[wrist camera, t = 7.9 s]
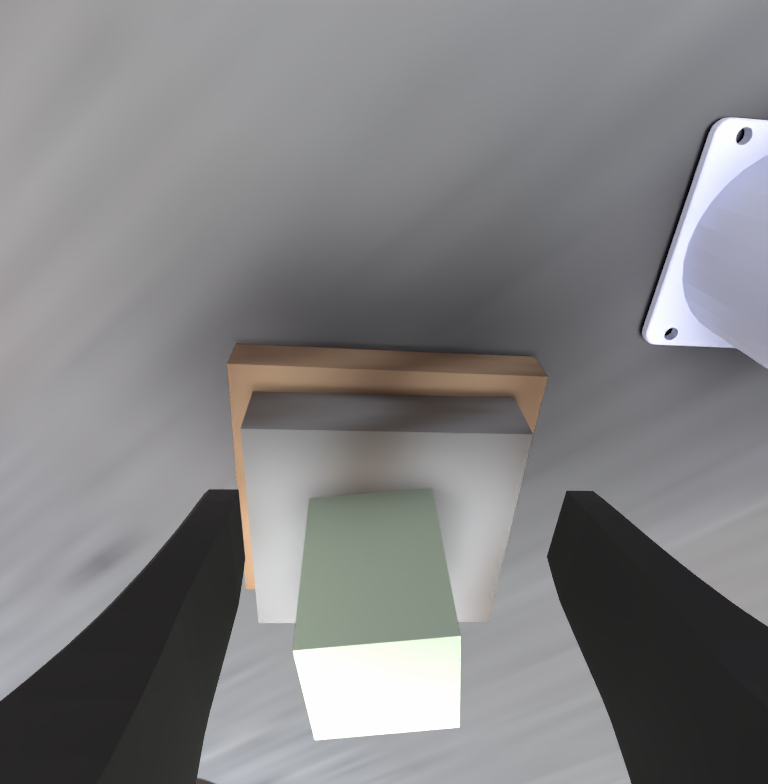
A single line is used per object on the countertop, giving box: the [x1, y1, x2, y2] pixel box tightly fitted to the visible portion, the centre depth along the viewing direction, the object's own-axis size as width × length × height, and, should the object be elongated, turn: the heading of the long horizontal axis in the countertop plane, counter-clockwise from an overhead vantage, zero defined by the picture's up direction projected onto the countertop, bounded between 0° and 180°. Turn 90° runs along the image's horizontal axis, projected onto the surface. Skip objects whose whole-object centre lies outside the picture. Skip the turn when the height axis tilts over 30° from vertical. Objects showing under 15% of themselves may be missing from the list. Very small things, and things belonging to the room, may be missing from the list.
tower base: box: [227, 344, 548, 589], centre depth 24 cm, size 12×12×2 cm
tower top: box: [240, 391, 533, 623], centre depth 21 cm, size 10×10×2 cm
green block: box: [292, 488, 461, 740], centre depth 18 cm, size 4×4×6 cm
